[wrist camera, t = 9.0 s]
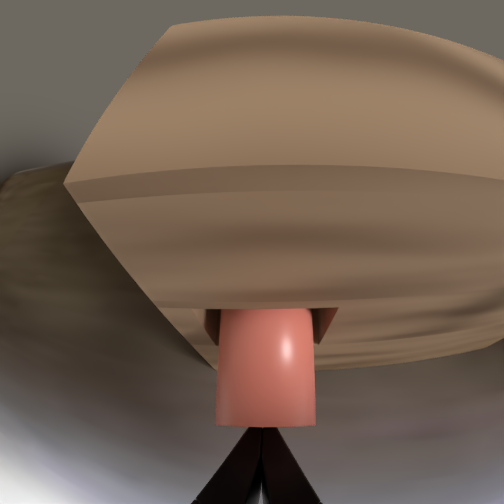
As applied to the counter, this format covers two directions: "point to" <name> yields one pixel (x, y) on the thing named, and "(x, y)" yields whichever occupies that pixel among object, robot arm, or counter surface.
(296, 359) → the salmon pink cylinder
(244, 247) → the wooden block
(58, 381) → the counter surface
